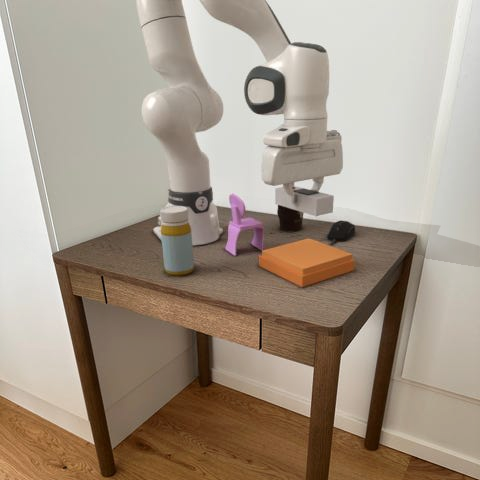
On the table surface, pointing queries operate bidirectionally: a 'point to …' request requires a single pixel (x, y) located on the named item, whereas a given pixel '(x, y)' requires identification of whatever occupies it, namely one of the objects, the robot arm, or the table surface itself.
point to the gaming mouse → (341, 231)
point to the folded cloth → (306, 261)
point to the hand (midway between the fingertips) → (302, 200)
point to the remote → (306, 201)
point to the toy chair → (242, 225)
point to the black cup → (289, 219)
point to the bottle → (176, 241)
